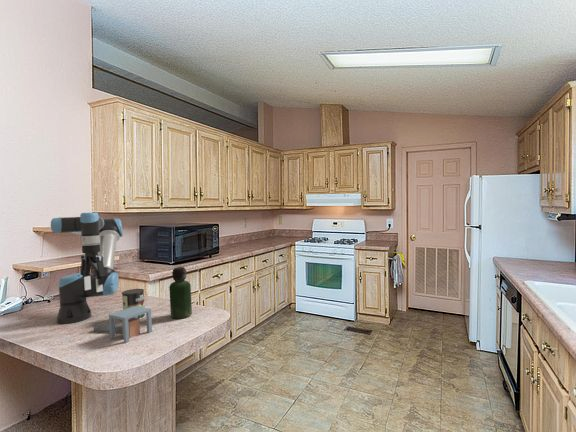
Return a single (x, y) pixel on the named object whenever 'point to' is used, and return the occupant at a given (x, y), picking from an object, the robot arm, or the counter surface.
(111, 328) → the blue toy stool
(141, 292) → the coffee can
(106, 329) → the steel bar
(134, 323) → the block
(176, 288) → the green bottle
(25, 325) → the counter surface
